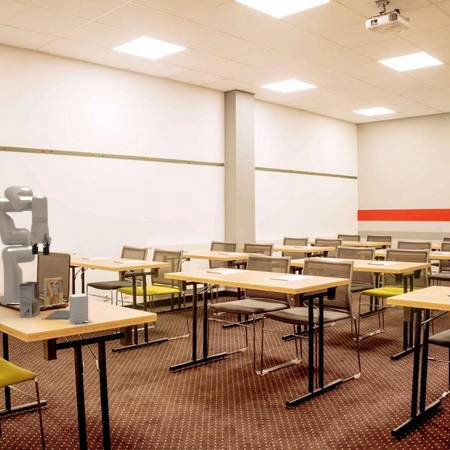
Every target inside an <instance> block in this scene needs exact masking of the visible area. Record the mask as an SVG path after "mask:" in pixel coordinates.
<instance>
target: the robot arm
mask: <svg viewBox="0 0 450 450" xmlns="http://www.w3.org/2000/svg"><path fill="white" fill-rule="evenodd" d="M3 194H4V196H1V197H0V240H1V243H2V244H3V246H6V247H4V248H2V251H1V259H2V266H3V267H2V268H3V294H2V295H0V301H1V302H0V304H1V305H4V306H7V305H6V304H11V303H20V284H22V283H24V282H23V269H22V268H21V266H20V265H19V264H25V263H32V262H33V261H35V259H36V255H39V246H38V245H39V244H42V246H43V247H42V256H49V255H50V248H51V242H52V238H51V236H50V230H49V224H48V223H49V217H48V216H49V214H48V213H49V212H48V211H49V210H48V209H49V208H48V205H49V204H48V197H47V196H44V195H35V196H34V192H33V190H32V189H31V187H28V186H20V185H19V186H18V185H17V186H16V185H12V186H8V187H6V188H5V190H4V192H3ZM22 212H31V226H30V230H29V229H28V228H25V227H22V228H19V227H16V225H15V220H14V219H13V218H12V217H11V216H10V215H9V214H7V213H22Z"/></svg>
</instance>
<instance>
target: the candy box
mask: <svg viewBox="0 0 450 450" xmlns="http://www.w3.org/2000/svg"><path fill="white" fill-rule="evenodd" d="M63 279H64V278H63V277H52V278H50V277H49V278H44V279H43V288H44V289H43V292H44V294H43V297H44V299H43V301H44V303H43V306H44V305H52V304H58V303H63V304H64V302H63V301H64V300H63V299H64V297H63V296H64V295H63V294H64V290H63V289H64V280H63Z"/></svg>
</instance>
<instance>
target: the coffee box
mask: <svg viewBox="0 0 450 450" xmlns="http://www.w3.org/2000/svg"><path fill="white" fill-rule="evenodd" d="M38 314H40V281H25V282H23V283H22V284H20V304H19V317H20V318H33V317H35V316H37V315H38Z"/></svg>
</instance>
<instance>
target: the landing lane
mask: <svg viewBox="0 0 450 450" xmlns="http://www.w3.org/2000/svg"><path fill="white" fill-rule="evenodd" d="M41 320H70V309H69V310H60V309H59V310H53V311H51V312H50V313H47V315H46V316H43V317H42V318H41Z"/></svg>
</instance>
